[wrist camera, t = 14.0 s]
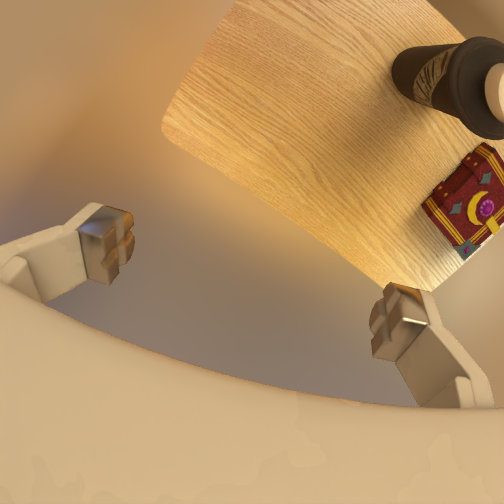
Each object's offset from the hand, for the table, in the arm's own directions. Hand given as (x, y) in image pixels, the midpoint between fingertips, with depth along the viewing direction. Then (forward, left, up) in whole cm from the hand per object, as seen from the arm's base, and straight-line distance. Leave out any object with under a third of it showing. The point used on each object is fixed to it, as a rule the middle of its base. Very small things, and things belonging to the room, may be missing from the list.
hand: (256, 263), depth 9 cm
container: (-2, +18, -34) cm, 38 cm away
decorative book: (+17, +24, -34) cm, 45 cm away
